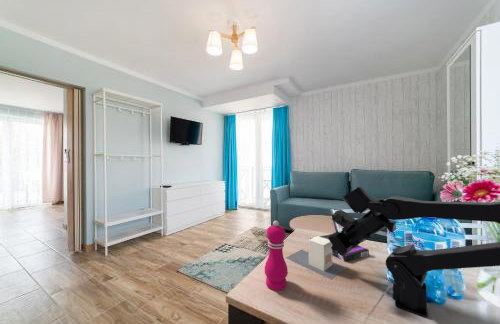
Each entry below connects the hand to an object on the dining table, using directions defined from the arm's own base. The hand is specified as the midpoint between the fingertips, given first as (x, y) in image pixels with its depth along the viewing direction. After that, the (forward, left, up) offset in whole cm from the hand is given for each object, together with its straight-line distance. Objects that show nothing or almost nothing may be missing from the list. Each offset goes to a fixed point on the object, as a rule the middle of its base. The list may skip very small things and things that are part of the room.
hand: (332, 249), depth 68 cm
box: (+3, -19, -8) cm, 21 cm away
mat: (+7, -2, -8) cm, 11 cm away
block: (+5, -1, -7) cm, 9 cm away
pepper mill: (+12, +18, -8) cm, 23 cm away
